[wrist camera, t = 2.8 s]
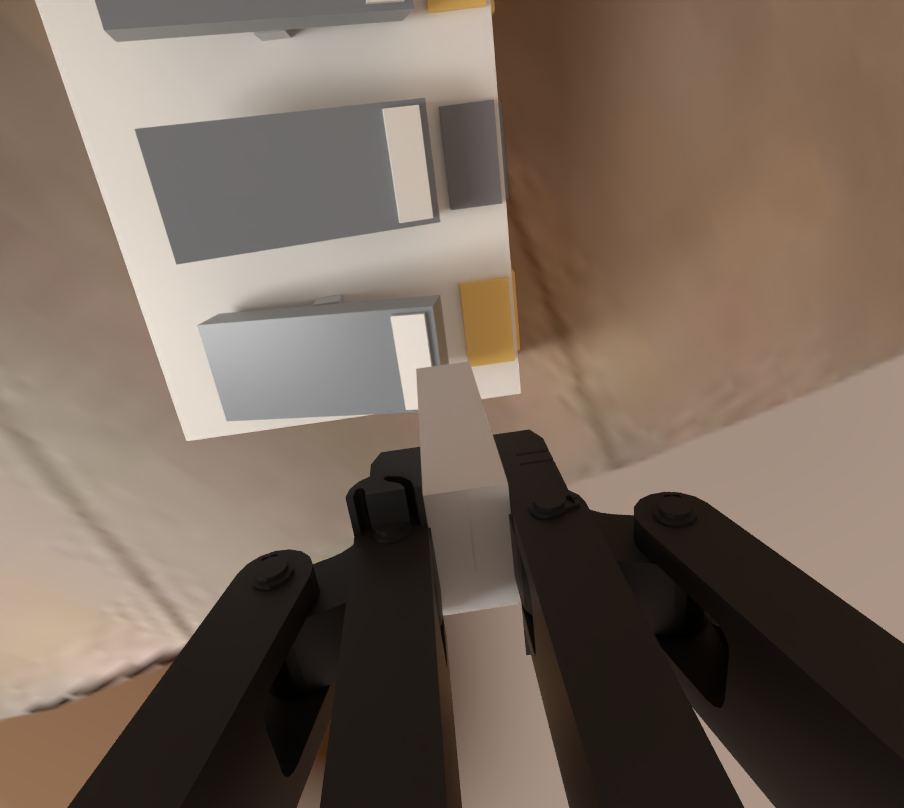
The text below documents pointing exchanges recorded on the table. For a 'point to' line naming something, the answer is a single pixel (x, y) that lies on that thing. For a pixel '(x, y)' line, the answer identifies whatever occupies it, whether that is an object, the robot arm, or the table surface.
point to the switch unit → (320, 263)
